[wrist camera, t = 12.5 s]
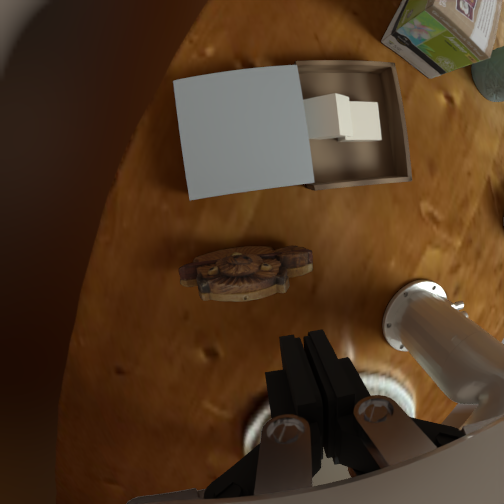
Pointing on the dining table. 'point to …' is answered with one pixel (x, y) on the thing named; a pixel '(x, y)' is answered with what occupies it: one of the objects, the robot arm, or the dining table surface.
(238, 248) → the wooden carving
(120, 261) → the dining table surface
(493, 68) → the teal tapered cup
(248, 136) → the grey square block
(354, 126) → the cream square-faced block
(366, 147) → the box
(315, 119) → the cream upright block
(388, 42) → the tea box
